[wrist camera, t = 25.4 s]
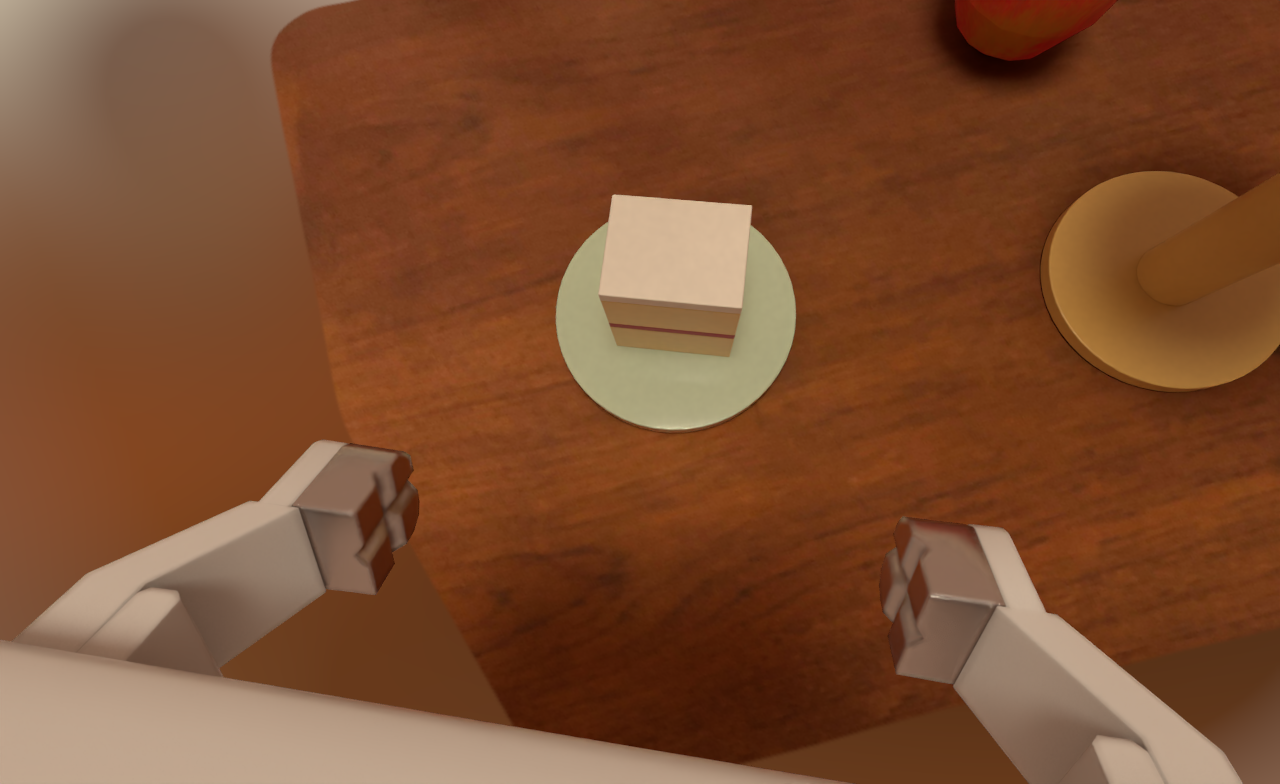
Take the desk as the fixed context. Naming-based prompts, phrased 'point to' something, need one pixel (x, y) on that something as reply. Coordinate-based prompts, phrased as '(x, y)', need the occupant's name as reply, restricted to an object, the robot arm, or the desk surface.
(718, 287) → the cake slice
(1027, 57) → the apple
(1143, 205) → the cake stand
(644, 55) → the desk surface
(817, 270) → the desk surface
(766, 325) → the plate
